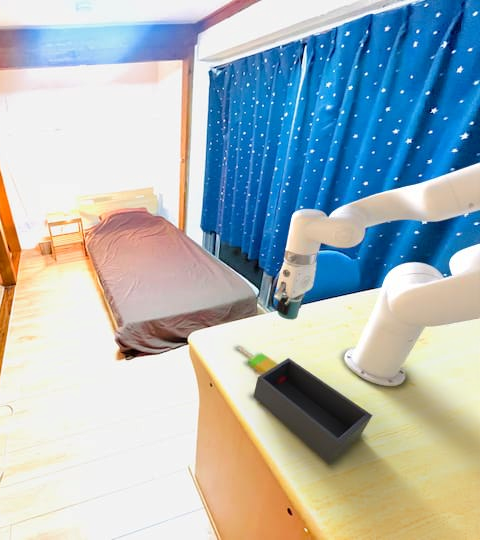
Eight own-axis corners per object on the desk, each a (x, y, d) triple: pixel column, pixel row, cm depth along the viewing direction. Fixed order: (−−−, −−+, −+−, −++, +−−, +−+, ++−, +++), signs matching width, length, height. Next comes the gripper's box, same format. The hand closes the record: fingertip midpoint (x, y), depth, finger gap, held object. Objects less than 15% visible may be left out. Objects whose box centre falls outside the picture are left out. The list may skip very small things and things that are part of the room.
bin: (282, 377, 76) (288, 357, 73) (360, 436, 61) (372, 415, 58) (253, 396, 72) (257, 376, 68) (329, 465, 57) (340, 444, 53)
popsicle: (232, 355, 86) (278, 388, 75) (231, 349, 85) (277, 382, 73) (244, 345, 88) (291, 375, 76) (243, 339, 86) (291, 369, 74)
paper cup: (284, 306, 88) (288, 288, 85) (301, 315, 83) (306, 296, 80) (273, 312, 86) (277, 294, 83) (290, 322, 81) (294, 302, 78)
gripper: (293, 270, 69) (281, 326, 78) (334, 251, 75) (318, 305, 84) (266, 259, 75) (258, 313, 84) (306, 243, 82) (294, 294, 90)
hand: (288, 309), depth 84 cm, fingers closed on paper cup, 5 cm apart
